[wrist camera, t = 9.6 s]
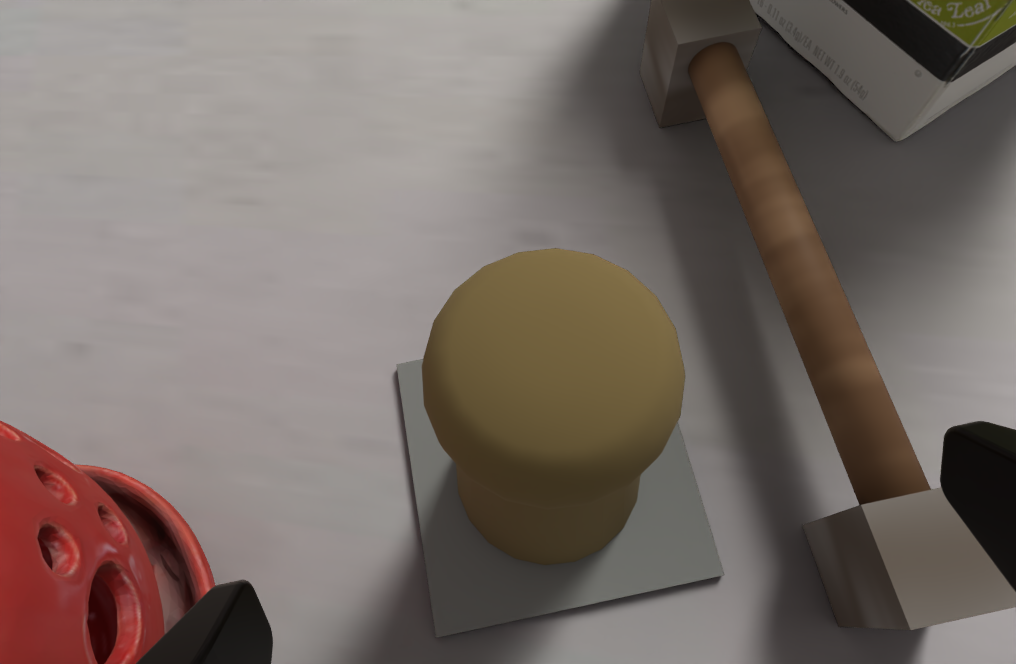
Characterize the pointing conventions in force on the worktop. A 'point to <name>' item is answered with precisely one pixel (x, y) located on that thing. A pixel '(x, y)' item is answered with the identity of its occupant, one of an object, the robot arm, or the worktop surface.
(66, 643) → the plant pot
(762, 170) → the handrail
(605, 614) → the worktop surface
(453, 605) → the pad
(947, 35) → the tea box
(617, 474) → the cork
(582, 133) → the worktop surface
